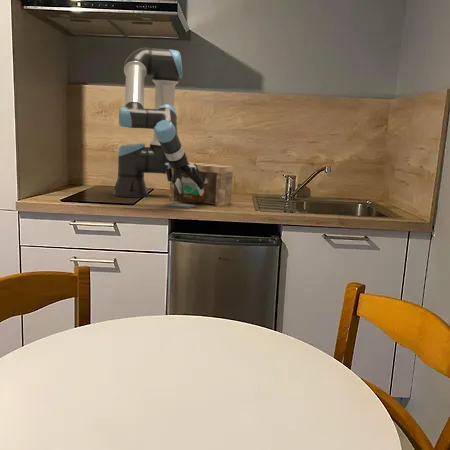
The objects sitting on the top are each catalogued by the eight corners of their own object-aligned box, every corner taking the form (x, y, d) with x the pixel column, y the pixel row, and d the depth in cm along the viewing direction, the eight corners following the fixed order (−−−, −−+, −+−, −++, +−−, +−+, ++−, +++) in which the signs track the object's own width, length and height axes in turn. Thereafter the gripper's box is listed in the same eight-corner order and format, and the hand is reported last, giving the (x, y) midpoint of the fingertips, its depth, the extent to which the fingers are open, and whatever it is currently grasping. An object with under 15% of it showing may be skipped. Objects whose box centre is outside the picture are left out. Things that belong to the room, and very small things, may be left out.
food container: (175, 200, 223) (175, 176, 222) (181, 199, 229) (182, 176, 227) (201, 203, 219) (202, 179, 217) (207, 201, 225) (208, 178, 223)
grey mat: (164, 205, 217) (164, 204, 217) (173, 203, 224) (173, 202, 224) (188, 208, 213) (188, 207, 213) (197, 206, 220) (197, 205, 220)
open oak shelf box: (169, 200, 232) (170, 162, 229) (182, 197, 243) (184, 161, 240) (219, 206, 223) (221, 167, 220) (230, 203, 234) (233, 166, 231)
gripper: (147, 159, 209) (165, 196, 226) (197, 164, 200) (212, 201, 218) (154, 146, 212) (172, 183, 230) (203, 150, 204) (218, 187, 222)
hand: (191, 192), depth 224 cm, fingers closed on food container, 9 cm apart
